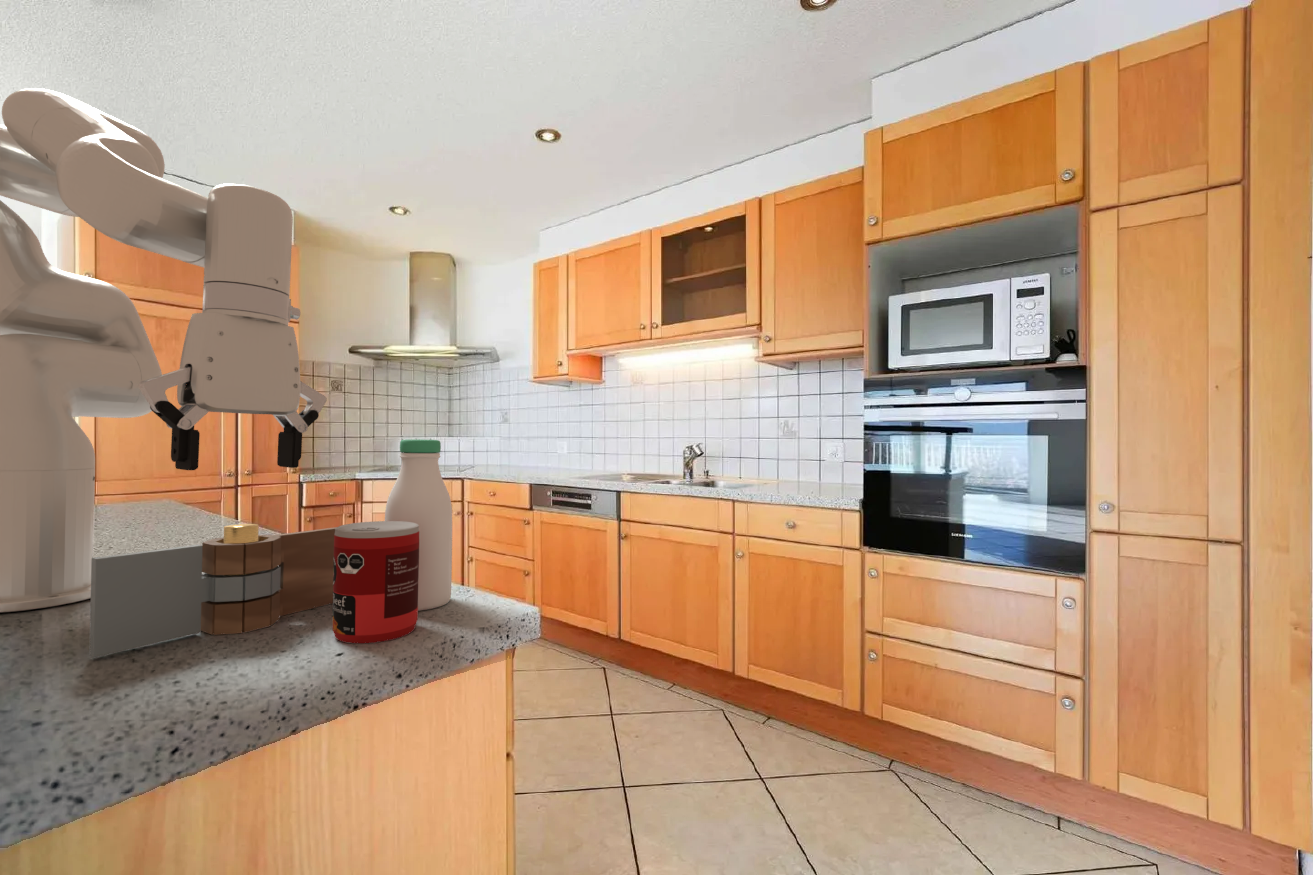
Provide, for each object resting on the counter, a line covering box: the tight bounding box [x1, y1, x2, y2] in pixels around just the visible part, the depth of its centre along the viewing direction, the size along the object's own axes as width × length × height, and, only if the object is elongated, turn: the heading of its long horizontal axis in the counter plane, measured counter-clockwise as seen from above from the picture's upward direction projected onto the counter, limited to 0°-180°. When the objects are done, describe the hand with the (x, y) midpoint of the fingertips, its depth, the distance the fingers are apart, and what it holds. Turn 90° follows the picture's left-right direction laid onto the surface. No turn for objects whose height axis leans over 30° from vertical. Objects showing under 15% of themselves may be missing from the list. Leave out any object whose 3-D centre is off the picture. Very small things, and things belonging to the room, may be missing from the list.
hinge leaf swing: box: [88, 544, 281, 659], centre depth 58 cm, size 6×15×9 cm, turn 151°
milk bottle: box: [384, 438, 453, 612], centre depth 70 cm, size 8×8×20 cm
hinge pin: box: [223, 523, 260, 602], centre depth 61 cm, size 3×3×10 cm
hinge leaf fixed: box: [201, 526, 337, 636], centre depth 66 cm, size 6×16×9 cm, turn 151°
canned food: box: [332, 520, 419, 644], centre depth 60 cm, size 8×8×11 cm
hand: (240, 468), depth 62 cm, fingers open, 9 cm apart
